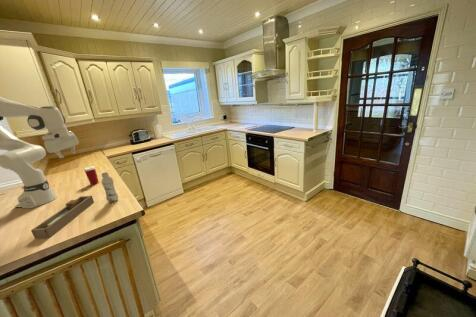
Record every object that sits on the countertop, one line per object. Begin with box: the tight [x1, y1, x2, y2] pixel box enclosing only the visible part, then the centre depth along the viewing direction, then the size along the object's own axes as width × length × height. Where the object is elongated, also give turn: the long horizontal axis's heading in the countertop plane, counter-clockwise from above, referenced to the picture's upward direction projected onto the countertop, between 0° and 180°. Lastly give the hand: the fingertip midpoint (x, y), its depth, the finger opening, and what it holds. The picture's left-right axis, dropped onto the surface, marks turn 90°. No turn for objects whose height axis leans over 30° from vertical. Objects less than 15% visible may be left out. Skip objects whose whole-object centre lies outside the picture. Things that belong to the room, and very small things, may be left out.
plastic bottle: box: [100, 172, 119, 203], centre depth 131 cm, size 6×7×20 cm
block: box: [65, 199, 80, 211], centre depth 123 cm, size 4×4×4 cm
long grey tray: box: [30, 195, 95, 240], centre depth 118 cm, size 8×34×5 cm, turn 0°
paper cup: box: [83, 165, 100, 186], centre depth 164 cm, size 8×8×14 cm
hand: (67, 155), depth 126 cm, fingers open, 8 cm apart
